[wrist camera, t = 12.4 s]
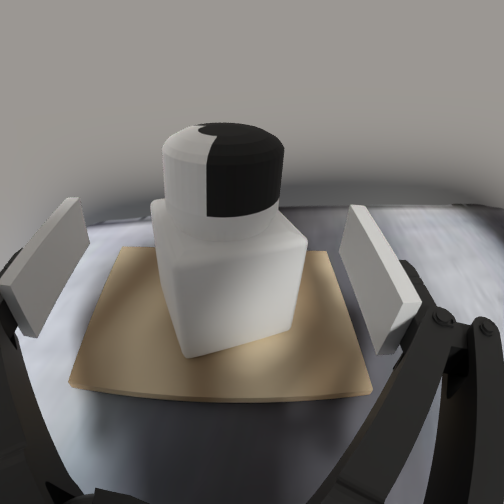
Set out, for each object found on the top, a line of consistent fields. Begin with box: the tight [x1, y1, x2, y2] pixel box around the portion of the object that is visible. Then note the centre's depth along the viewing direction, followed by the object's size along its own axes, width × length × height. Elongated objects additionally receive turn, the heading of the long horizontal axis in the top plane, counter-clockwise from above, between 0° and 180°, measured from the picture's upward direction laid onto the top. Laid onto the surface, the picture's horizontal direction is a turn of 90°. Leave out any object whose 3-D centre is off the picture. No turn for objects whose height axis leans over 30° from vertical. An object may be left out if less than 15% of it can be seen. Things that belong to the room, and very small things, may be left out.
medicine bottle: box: [151, 123, 308, 358], centre depth 18 cm, size 7×7×12 cm
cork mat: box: [68, 247, 373, 403], centre depth 22 cm, size 18×14×1 cm
